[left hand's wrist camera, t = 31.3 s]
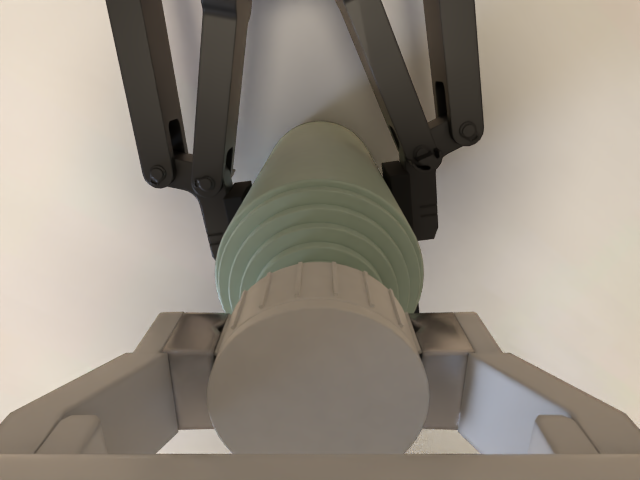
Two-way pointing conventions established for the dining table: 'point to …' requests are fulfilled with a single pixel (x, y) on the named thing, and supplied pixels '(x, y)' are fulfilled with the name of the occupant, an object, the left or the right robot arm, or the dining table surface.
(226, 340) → the cap
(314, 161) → the bottle
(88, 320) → the dining table surface
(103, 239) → the dining table surface
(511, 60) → the dining table surface
